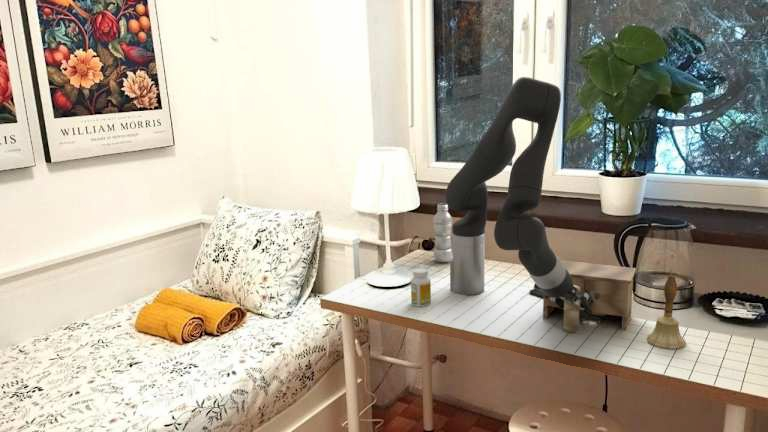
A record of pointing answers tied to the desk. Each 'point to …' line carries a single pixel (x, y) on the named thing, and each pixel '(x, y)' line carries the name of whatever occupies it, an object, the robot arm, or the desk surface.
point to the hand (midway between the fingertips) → (575, 309)
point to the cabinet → (601, 288)
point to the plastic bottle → (442, 234)
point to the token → (590, 321)
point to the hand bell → (667, 322)
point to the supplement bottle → (420, 288)
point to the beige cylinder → (573, 316)
